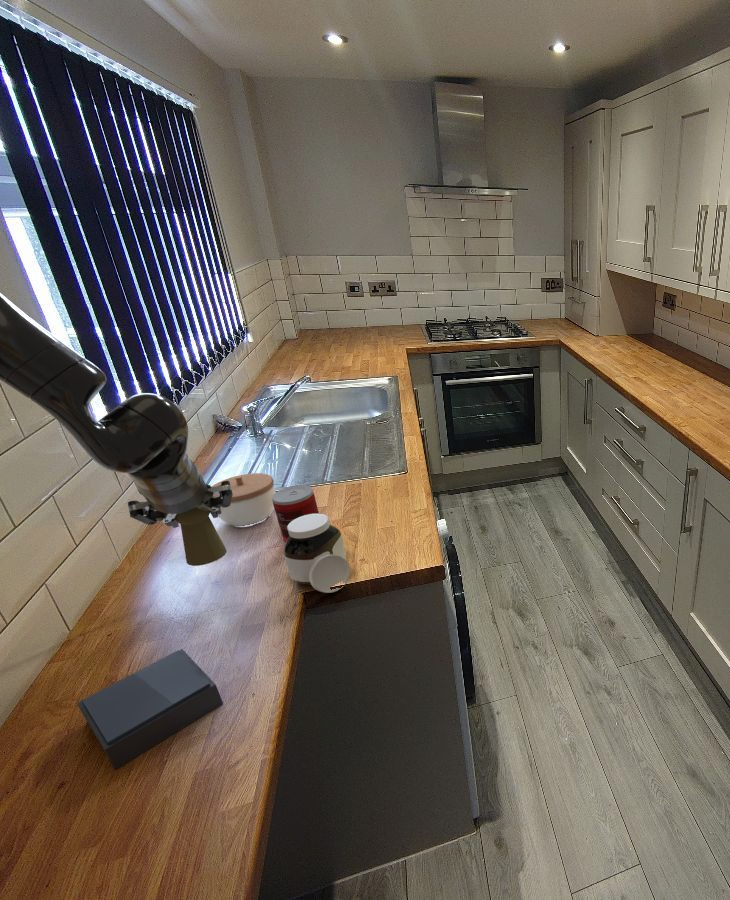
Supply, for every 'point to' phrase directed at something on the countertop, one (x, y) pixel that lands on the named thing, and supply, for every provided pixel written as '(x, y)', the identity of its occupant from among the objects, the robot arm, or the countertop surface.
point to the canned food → (293, 505)
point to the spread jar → (316, 553)
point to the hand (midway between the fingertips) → (195, 517)
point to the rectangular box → (149, 706)
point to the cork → (200, 538)
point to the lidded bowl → (248, 499)
